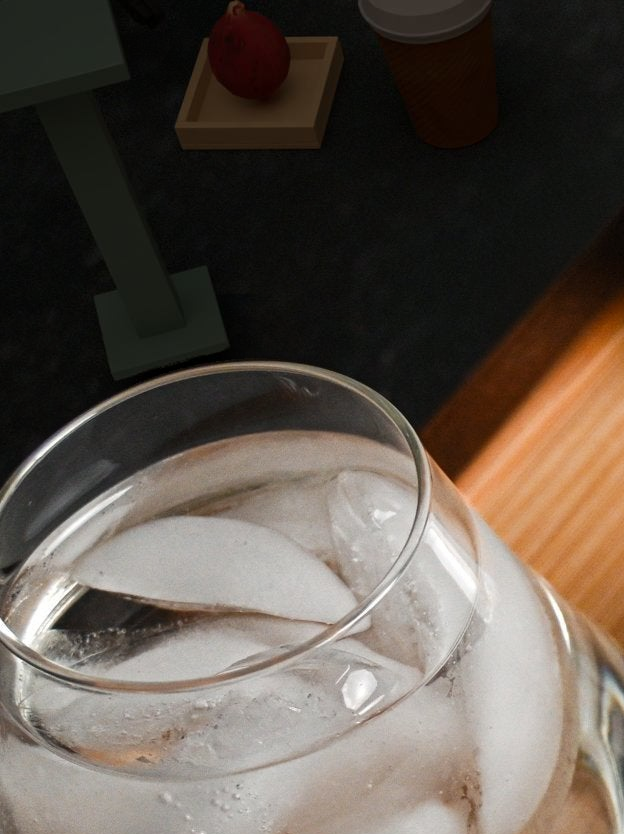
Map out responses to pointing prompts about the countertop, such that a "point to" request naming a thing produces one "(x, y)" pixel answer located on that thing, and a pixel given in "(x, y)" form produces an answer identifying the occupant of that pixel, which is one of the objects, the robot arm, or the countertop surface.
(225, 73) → the onion
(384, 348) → the countertop surface
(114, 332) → the stand
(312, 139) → the tray
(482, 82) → the disposable coffee cup
